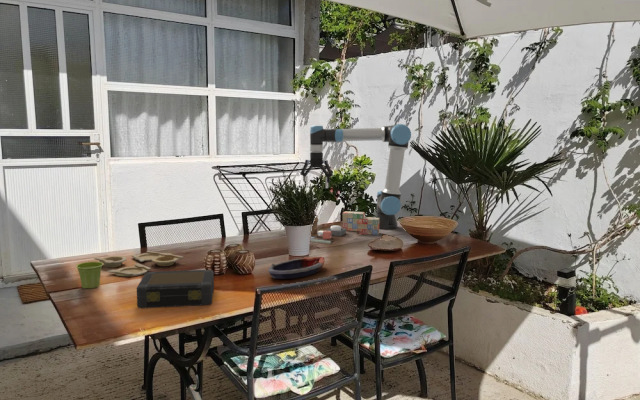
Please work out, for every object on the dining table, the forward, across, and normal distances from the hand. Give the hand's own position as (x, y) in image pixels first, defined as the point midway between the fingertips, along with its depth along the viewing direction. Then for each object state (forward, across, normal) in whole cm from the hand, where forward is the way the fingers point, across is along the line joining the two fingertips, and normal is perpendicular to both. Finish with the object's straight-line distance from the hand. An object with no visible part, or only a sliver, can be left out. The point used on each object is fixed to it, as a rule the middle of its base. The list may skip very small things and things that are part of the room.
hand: (316, 187), depth 297 cm
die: (+25, -16, +22) cm, 37 cm away
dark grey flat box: (+27, -1, +131) cm, 134 cm away
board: (+26, -12, +16) cm, 33 cm away
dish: (+27, -28, +85) cm, 93 cm away
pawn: (+25, -7, +20) cm, 32 cm away
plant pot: (+26, +37, +135) cm, 142 cm away
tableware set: (+27, +42, +103) cm, 114 cm away
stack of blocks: (+27, -26, -6) cm, 38 cm away
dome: (+24, -16, +10) cm, 31 cm away
